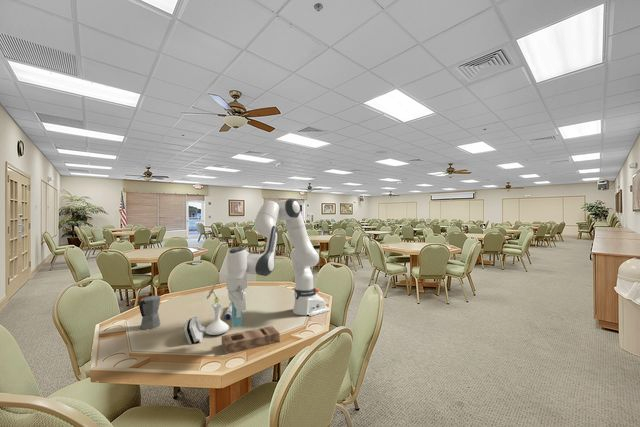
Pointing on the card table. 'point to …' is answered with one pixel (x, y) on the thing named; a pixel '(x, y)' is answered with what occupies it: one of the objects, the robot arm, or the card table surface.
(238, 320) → the peg
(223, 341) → the socket block
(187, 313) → the card table surface
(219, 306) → the flower in vase
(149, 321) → the coffeepot
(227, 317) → the white plastic cylinder
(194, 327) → the white plastic case
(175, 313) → the card table surface
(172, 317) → the card table surface
